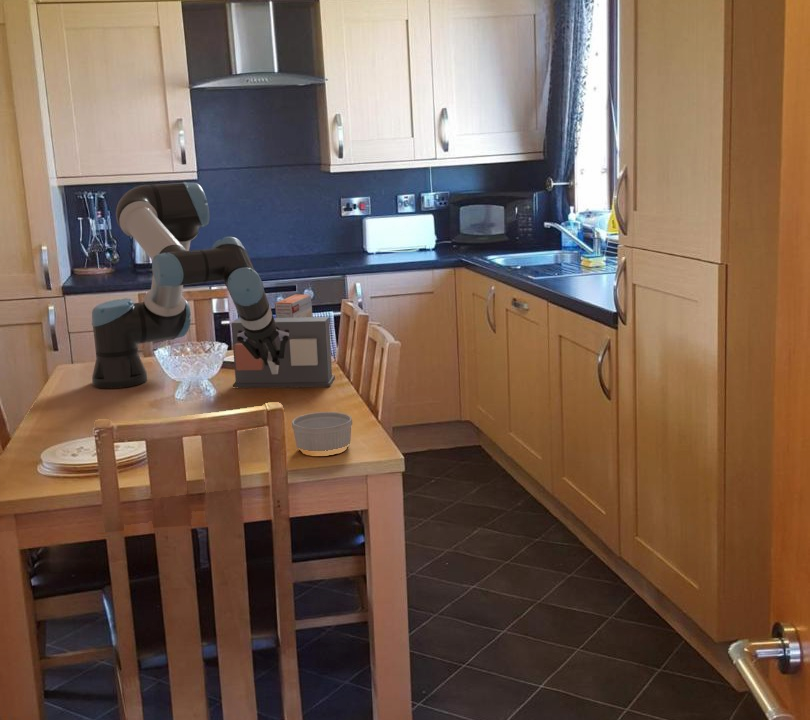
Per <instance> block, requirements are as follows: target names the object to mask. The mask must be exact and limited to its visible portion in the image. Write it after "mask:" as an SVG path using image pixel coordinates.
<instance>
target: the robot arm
mask: <svg viewBox="0 0 810 720" xmlns="http://www.w3.org/2000/svg"><path fill="white" fill-rule="evenodd" d="M115 218H116V223H117V225H118V226H119V228H120V230H121V231H122V232H123V233H124V234H125V235H126V236H128V237H130V238H133V239H134V240H135V241H136V242H137V244H138V245H139V246H140V247H141V248H142V250H143V251H144V252H145V253H146V254H147V256H148V257H149V258H150V259H151V260H152V261H151V270H152V277H151V287H150V289H149V290H148V291H147V292H146V293H145V295H144V297H143V302H142V301H141V302H134V300H133V299H131V298H121V299H120V298H118V299H113V300H108V301H105V302H102V303H100V304H98V305H96V306H95V307H94V308H93V309H92V311H91V326H92V330H93V340H94V341H93V342H94V349H95V350H94V351H95V358H96V359H95V363H94V367H93V371H92V375H91V376H92V377H91V380H92V381H91V382H92V386H93V387H95V388H97V389H108V390H109V389H123V388H130V387H134V386H139V385H141V384H144V383H146V382H147V381H148V375H147V370H146V368H145V365H144V363H143V360H142V358H141V356H140V354H139V346H138V345H139V344H140V345H141V344H147V343H153V342H160V341H161V342H163V341H172V340H175V339H179V338H182V337H185V336H186V335H187V333H188V332H189V330H190V327H191V321H192V319H191V308H190V305H189V302H188V301H187V300H186V298H185V297H184V296H183V288H184V286H186V285H194V284H195V285H196V284H204V283H205V284H206V283H213V282H222V281H223V283H224V285H225V287H226V289H227V291H228V293H229V295H230V298H231V299H232V302H233V304H234V307H235V309H236V312H237V314H238V317H239V318H238V319H240V321H241V323H242V326H243V328H244V331H238V335H237V341H238V342H240V343H242V344H243V345H244V346H245V347H246V349H247V350H248V351H249V352H250V353H251V355H252V356H253V357H254V358H255V359H259V358H262V360H263V361H264V363H265V365H269V367H270V370H271V373H272V374H278V369H279V365H280V358H281V359H283V358H284V353H285V344H286V342H287V341H288V340H289V330H284V331H281V330H279V328H278V327H277V326H276V323H275V320H274V318H275V317H274V315H273V313H272V309H271V306H270V303H269V301H268V299H267V294H266V292H265V288H264V283H263V281H262V279H261V277H260V275H259V273H258V272H257V271H256V270H255V268H254V266H253V263H252V262H251V258H250V256H249V254H248V251H247V249H246V248H245V247H244V245H243V243H242V241H240V239H238V238H236V237H233V236H224V237H223V238H221V239H218V240H216V241H215V242H214V243H213V245H212V246H211V248H206V249H205V248H204V249H195V250H190V248H191V241H193V240H194V239H195V238H196V237H197V236H198V234H199V229H200V227H201V228H203V227H205V226H208V225H209V222H210V208H209V203H208V199H207V196H206V194H205V191H204V189H203V187H202V186H201V185H200V184H199V183H197V182H185V181H183V182H175V183H159V184H158V183H157V184H141V185H139V186H135V187H133V188H132V189H129V190H127V192H125V193H124V194H123V196H121V198H120V200H119V201H118V203H117V206H116V210H115ZM277 336H279V338H280V340H281V344H280V350H278V349H277V346H276V343H275V340H274V339H275V338H276V337H277ZM254 342H255V343H254ZM265 343H266V344H265ZM266 345H267V346H268V348H269V351H270V352H268V349H267V347H266Z"/></svg>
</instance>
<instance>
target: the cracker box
mask: <svg viewBox="0 0 810 720" xmlns="http://www.w3.org/2000/svg"><path fill="white" fill-rule="evenodd" d="M312 305H313V304H312V295H311V294H299V293H298V294H297V293H295V294H293V295H291V296H288V297H286V298H284V299H282V300H279V301H277V302H275V303H274V308H275V310H274V311H275V318H302V317H313V306H312Z"/></svg>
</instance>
